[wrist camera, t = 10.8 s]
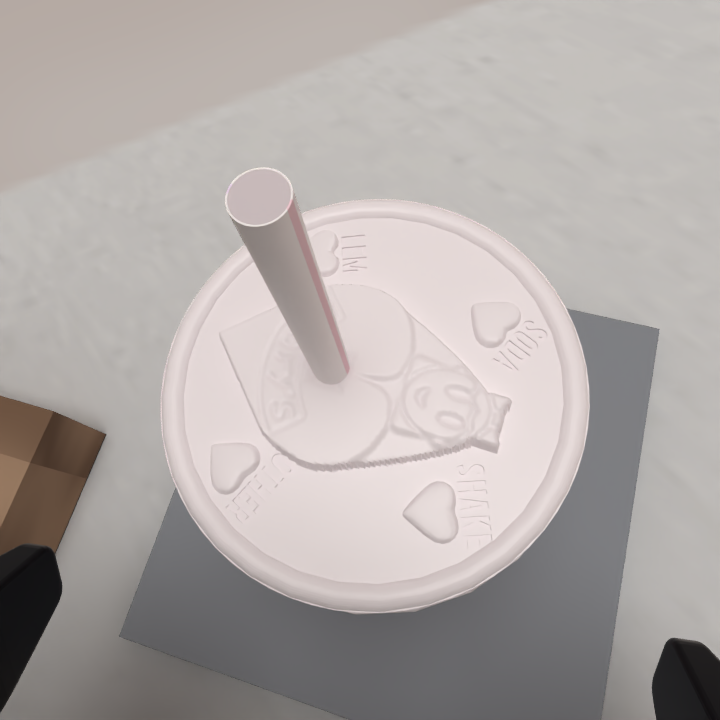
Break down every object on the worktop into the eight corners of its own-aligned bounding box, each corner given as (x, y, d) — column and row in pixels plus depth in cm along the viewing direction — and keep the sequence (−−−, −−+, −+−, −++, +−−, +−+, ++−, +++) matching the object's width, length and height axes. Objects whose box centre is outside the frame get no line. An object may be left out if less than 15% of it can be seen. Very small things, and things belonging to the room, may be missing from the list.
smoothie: (331, 350, 19) (146, -120, 6) (529, 411, 18) (821, -16, 5) (254, 546, 18) (-239, 472, 4) (468, 629, 16) (677, 870, 3)
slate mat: (582, 796, 15) (587, 805, 15) (128, 634, 18) (118, 636, 17) (652, 336, 19) (659, 328, 19) (272, 252, 21) (268, 243, 21)
